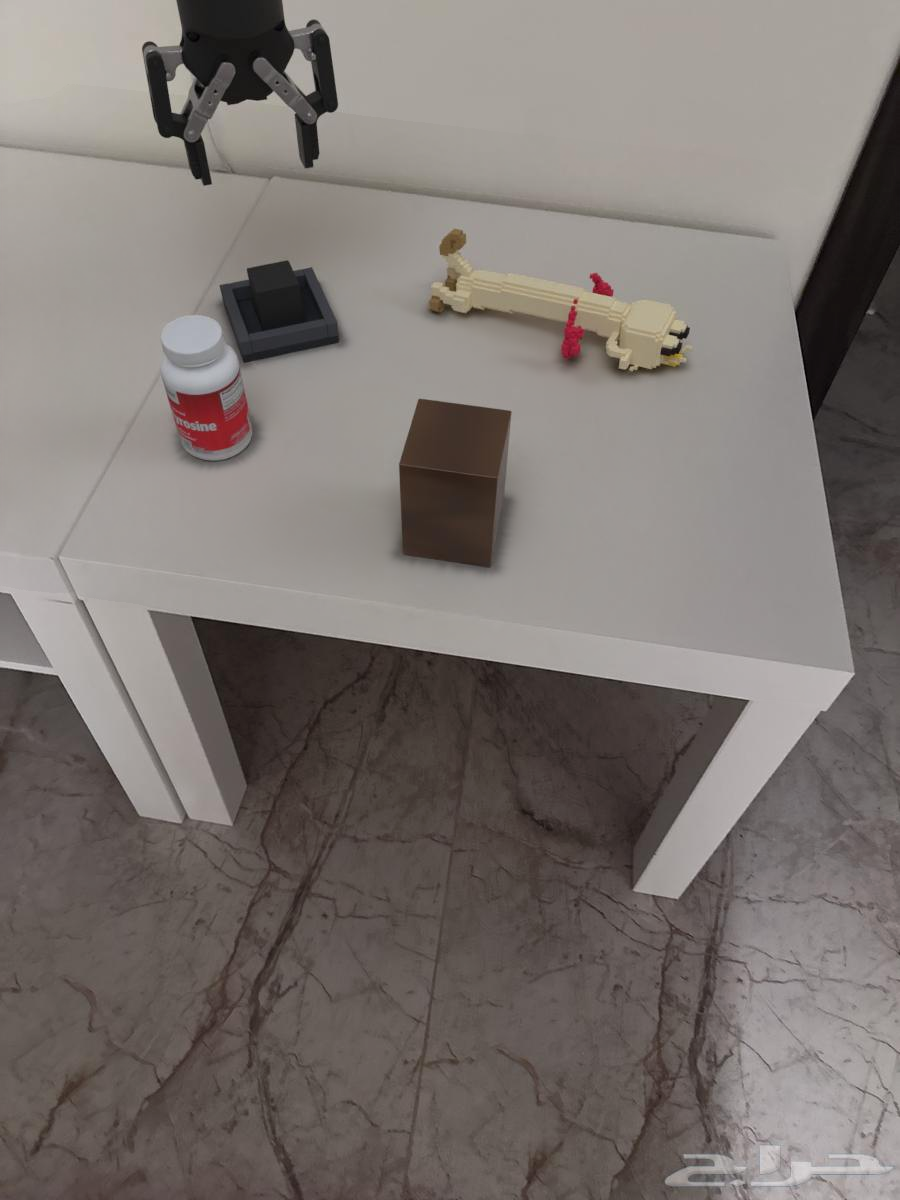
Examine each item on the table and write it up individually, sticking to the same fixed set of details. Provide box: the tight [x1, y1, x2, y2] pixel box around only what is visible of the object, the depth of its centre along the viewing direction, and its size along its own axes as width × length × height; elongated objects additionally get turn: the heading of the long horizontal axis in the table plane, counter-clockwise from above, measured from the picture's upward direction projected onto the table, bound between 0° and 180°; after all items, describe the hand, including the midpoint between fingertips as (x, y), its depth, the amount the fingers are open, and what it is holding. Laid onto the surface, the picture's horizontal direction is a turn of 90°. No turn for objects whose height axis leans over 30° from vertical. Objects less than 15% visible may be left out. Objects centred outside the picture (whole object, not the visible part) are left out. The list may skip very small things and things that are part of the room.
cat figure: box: [428, 228, 693, 372], centre depth 86 cm, size 10×9×25 cm
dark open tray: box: [219, 266, 340, 363], centre depth 89 cm, size 9×9×2 cm
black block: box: [246, 259, 304, 331], centre depth 87 cm, size 4×4×4 cm
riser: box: [398, 398, 513, 568], centre depth 70 cm, size 7×7×10 cm
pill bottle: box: [159, 314, 253, 462], centre depth 76 cm, size 6×6×11 cm
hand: (256, 172), depth 77 cm, fingers open, 8 cm apart
